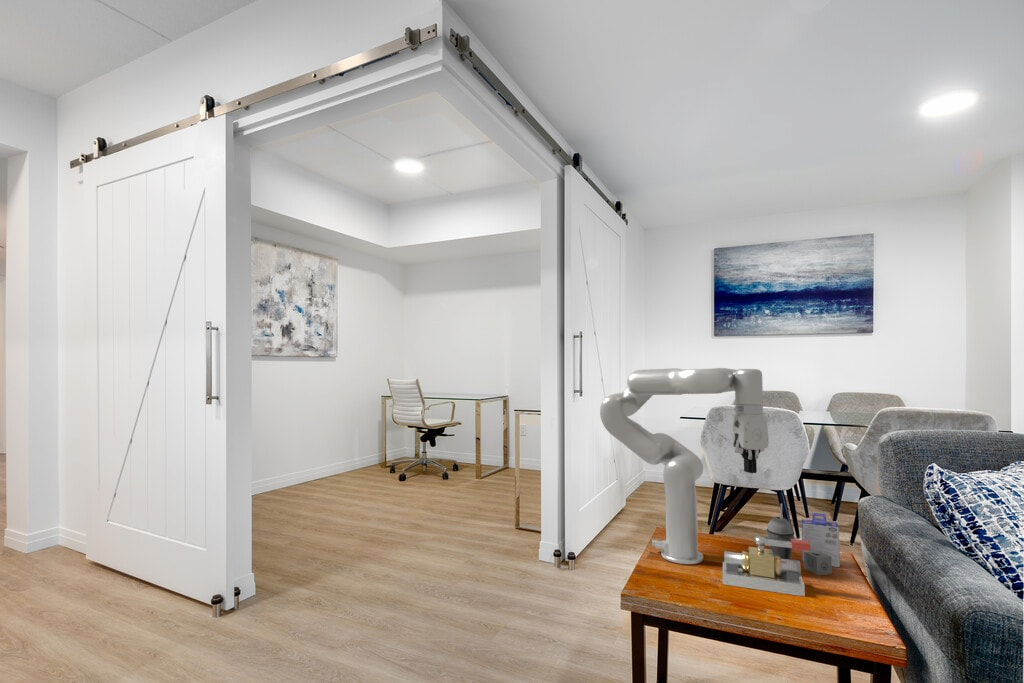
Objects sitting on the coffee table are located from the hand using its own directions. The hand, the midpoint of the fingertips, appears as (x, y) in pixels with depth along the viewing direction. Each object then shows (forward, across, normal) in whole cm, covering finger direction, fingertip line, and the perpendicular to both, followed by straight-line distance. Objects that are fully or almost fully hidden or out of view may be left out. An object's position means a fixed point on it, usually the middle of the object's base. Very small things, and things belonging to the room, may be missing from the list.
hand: (750, 472), depth 153 cm
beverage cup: (+29, +8, -3) cm, 31 cm away
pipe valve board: (+29, -4, -7) cm, 30 cm away
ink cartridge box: (+29, +26, -3) cm, 39 cm away
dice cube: (+29, +18, -7) cm, 35 cm away
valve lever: (+18, 0, -11) cm, 21 cm away
